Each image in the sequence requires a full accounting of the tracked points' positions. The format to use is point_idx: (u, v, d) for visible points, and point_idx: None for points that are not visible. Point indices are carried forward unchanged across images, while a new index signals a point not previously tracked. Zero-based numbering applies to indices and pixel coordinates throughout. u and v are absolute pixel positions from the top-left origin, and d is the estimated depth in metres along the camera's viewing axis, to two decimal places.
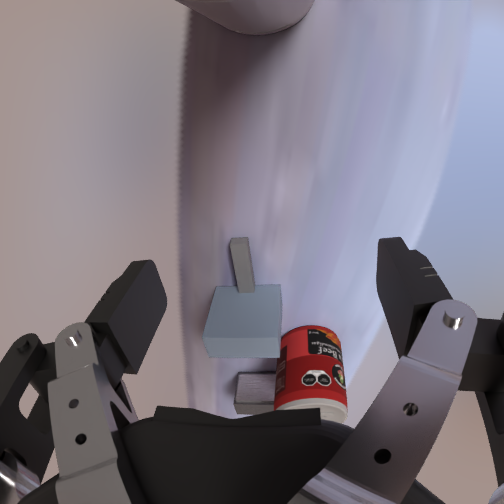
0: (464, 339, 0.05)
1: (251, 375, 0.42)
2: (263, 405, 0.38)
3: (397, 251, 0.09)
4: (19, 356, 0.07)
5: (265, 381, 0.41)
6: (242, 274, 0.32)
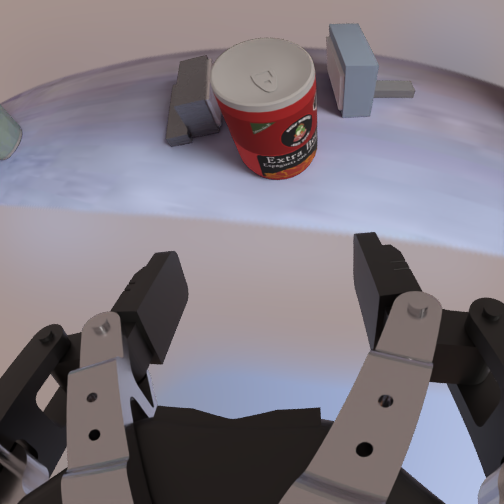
0: (426, 329, 0.06)
1: None
2: (202, 79, 0.28)
3: (369, 245, 0.09)
4: (41, 347, 0.07)
5: None
6: (384, 84, 0.29)
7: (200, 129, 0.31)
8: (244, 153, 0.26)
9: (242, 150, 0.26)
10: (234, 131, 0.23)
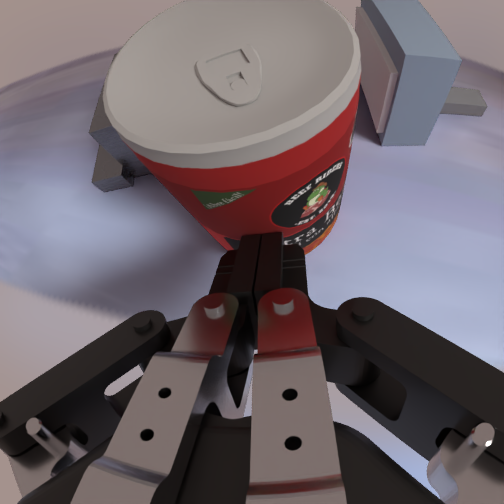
0: (280, 324, 0.07)
1: None
2: None
3: (269, 244, 0.10)
4: (132, 336, 0.07)
5: None
6: None
7: (143, 165, 0.19)
8: (202, 225, 0.14)
9: (198, 221, 0.14)
10: (171, 193, 0.11)
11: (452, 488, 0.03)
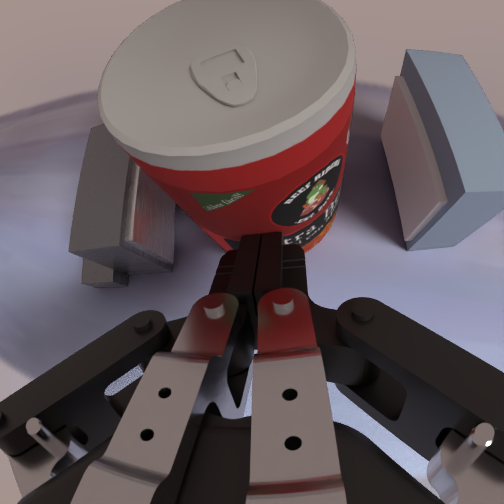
0: (280, 324, 0.07)
1: None
2: (122, 181, 0.13)
3: (269, 244, 0.10)
4: (132, 336, 0.07)
5: (166, 209, 0.17)
6: None
7: (136, 269, 0.17)
8: (201, 227, 0.14)
9: (197, 223, 0.14)
10: (169, 196, 0.11)
11: (451, 489, 0.03)
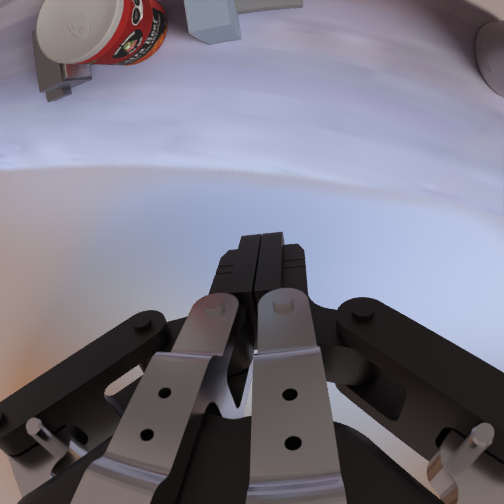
0: (280, 324, 0.07)
1: None
2: None
3: (269, 244, 0.10)
4: (132, 336, 0.07)
5: None
6: None
7: (73, 85, 0.26)
8: None
9: None
10: None
11: (451, 488, 0.03)
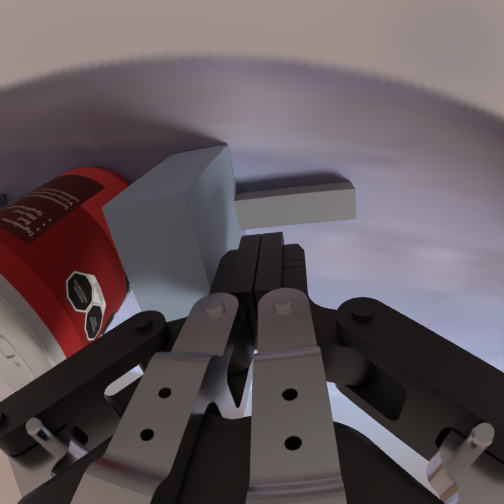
0: (280, 324, 0.07)
1: None
2: None
3: (269, 244, 0.10)
4: (132, 336, 0.07)
5: None
6: (285, 208, 0.16)
7: None
8: None
9: None
10: None
11: (452, 488, 0.03)
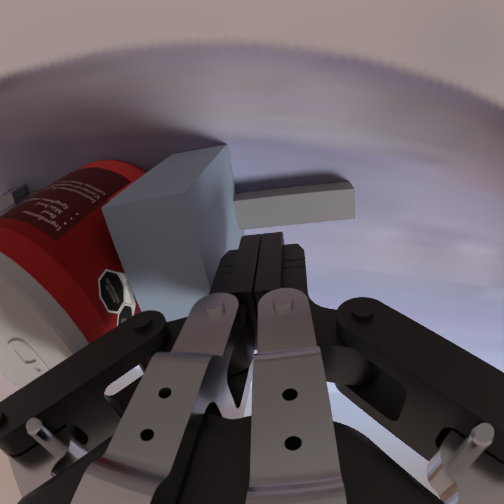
0: (280, 324, 0.07)
1: None
2: None
3: (269, 244, 0.10)
4: (132, 336, 0.07)
5: None
6: (284, 208, 0.16)
7: None
8: None
9: None
10: None
11: (451, 488, 0.03)
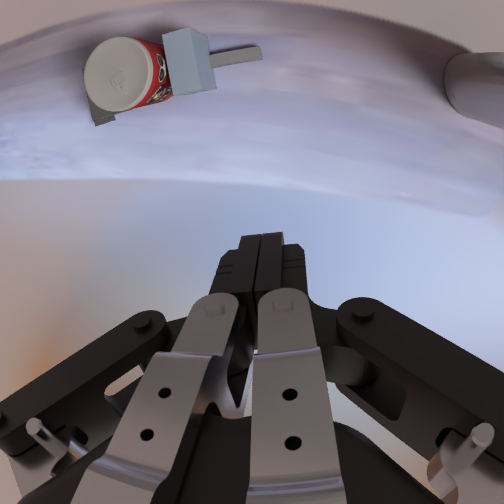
0: (280, 324, 0.07)
1: None
2: None
3: (269, 244, 0.10)
4: (132, 336, 0.07)
5: None
6: (230, 56, 0.32)
7: (118, 113, 0.36)
8: None
9: None
10: None
11: (451, 488, 0.03)
